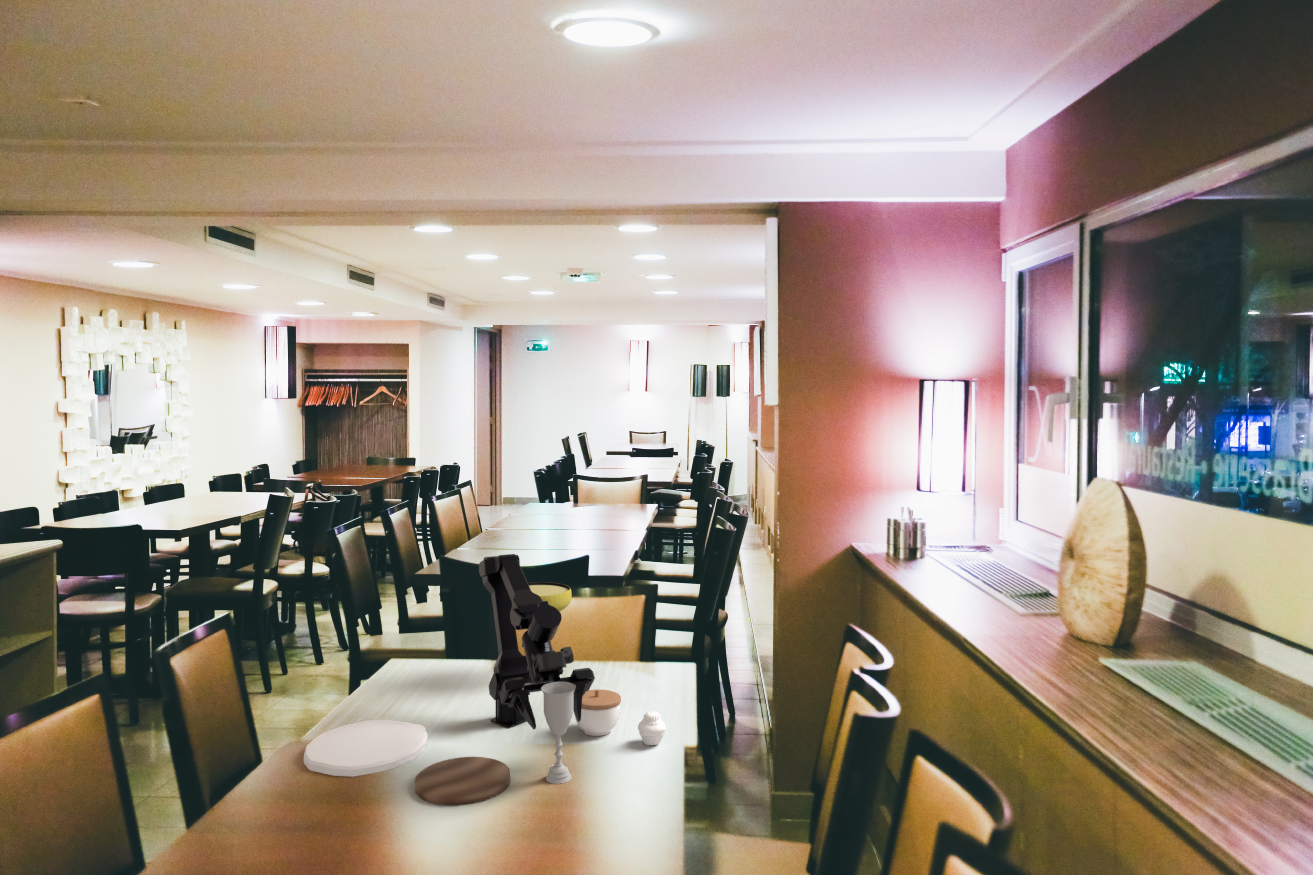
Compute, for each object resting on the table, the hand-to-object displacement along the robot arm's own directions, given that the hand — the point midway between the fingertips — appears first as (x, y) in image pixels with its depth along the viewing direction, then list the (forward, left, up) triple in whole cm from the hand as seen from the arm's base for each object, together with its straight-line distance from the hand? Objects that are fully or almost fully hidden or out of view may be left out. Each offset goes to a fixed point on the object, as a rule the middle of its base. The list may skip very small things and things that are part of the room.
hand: (557, 724), depth 165 cm
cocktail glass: (-44, +39, -11) cm, 60 cm away
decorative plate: (-41, -15, -11) cm, 45 cm away
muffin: (+5, +25, -11) cm, 27 cm away
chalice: (+1, 0, -11) cm, 11 cm away
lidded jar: (-9, +23, -11) cm, 27 cm away
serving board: (-12, -13, -10) cm, 21 cm away
